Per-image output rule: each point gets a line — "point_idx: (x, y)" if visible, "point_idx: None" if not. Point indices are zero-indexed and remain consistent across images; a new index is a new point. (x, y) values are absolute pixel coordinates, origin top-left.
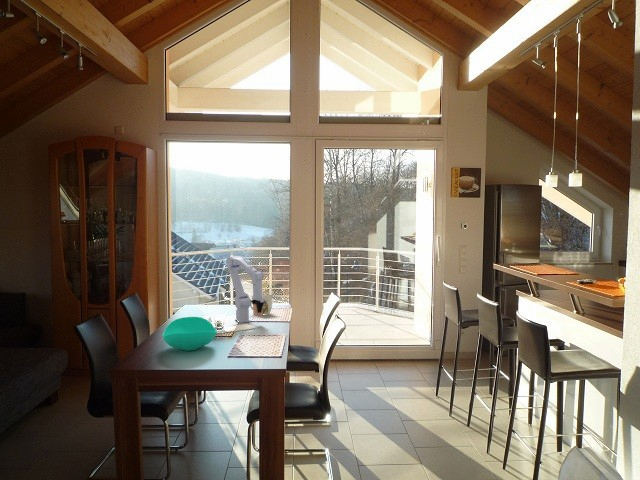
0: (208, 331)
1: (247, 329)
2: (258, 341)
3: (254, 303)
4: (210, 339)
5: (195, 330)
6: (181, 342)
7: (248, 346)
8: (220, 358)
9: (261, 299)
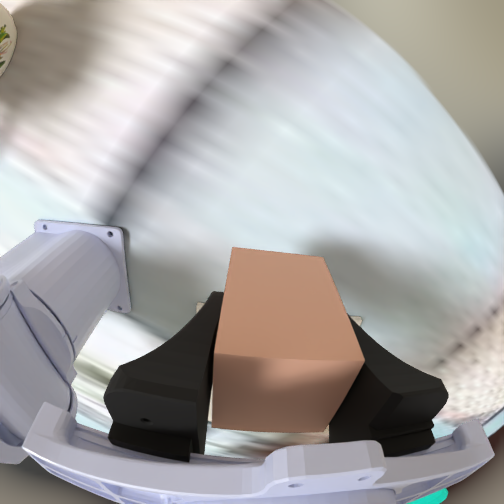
0: (447, 493)
1: None
2: (490, 369)
3: (206, 419)
4: None
5: None
6: None
7: (483, 398)
8: None
9: (469, 474)
